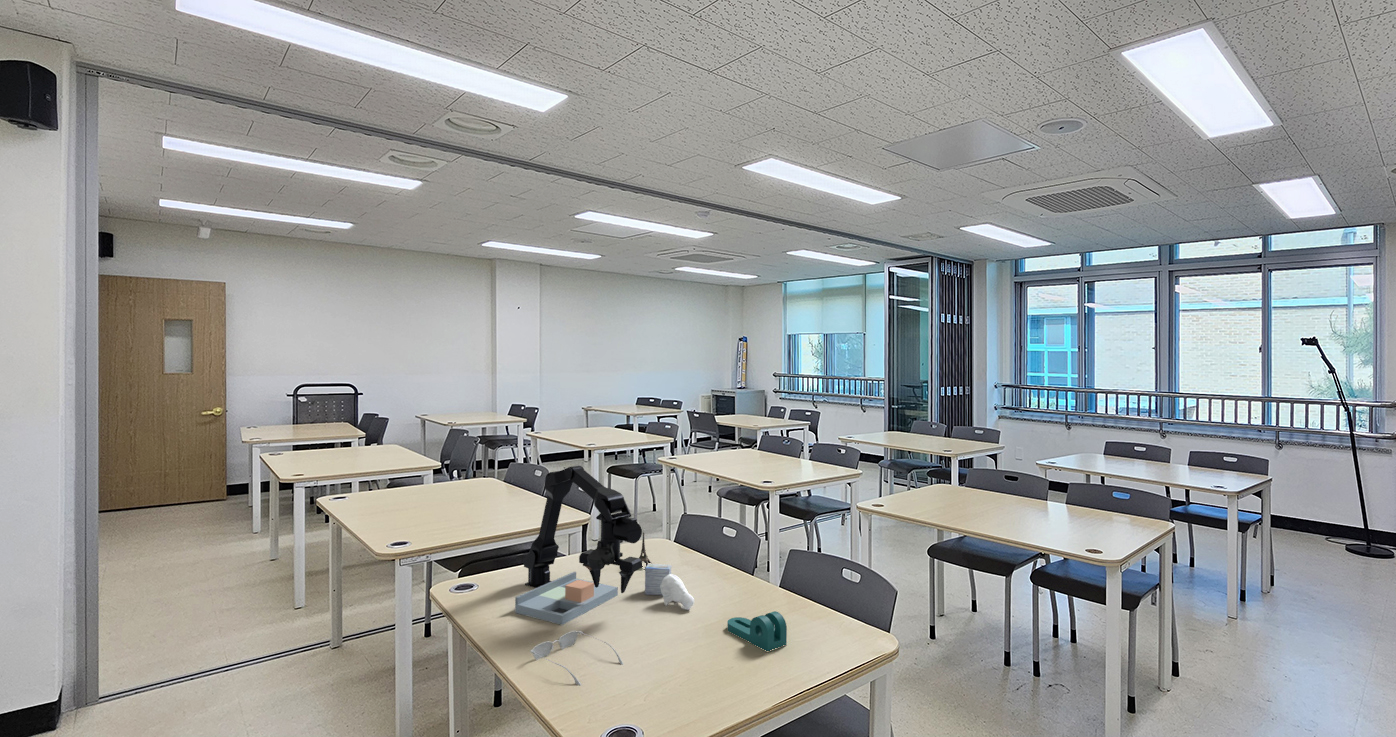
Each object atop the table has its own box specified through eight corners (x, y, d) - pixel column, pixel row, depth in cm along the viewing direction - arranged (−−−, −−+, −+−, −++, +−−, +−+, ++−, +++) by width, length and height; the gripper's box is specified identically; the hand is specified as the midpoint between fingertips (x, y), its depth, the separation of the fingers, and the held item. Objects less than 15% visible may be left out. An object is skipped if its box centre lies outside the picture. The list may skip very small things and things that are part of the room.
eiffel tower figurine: (618, 563, 231) (619, 527, 231) (641, 558, 237) (642, 523, 237) (641, 574, 219) (642, 536, 219) (665, 569, 226) (665, 532, 226)
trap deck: (515, 612, 182) (515, 597, 182) (573, 585, 206) (573, 571, 206) (562, 624, 174) (562, 608, 174) (617, 595, 198) (617, 580, 198)
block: (565, 598, 187) (565, 585, 187) (577, 592, 192) (578, 579, 192) (581, 602, 184) (581, 589, 184) (593, 596, 189) (593, 583, 189)
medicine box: (671, 591, 202) (671, 564, 202) (669, 596, 197) (669, 568, 197) (647, 590, 203) (647, 563, 203) (644, 595, 198) (644, 567, 198)
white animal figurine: (674, 570, 196) (701, 583, 187) (672, 596, 196) (699, 611, 188) (659, 574, 191) (685, 588, 183) (656, 601, 192) (683, 616, 183)
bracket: (786, 646, 163) (786, 616, 163) (767, 653, 159) (768, 622, 159) (740, 623, 178) (741, 595, 178) (722, 629, 174) (722, 600, 174)
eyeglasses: (578, 643, 164) (578, 628, 164) (627, 665, 152) (627, 648, 152) (528, 664, 152) (529, 647, 152) (577, 689, 140) (577, 671, 140)
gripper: (567, 538, 180) (566, 592, 180) (621, 548, 172) (620, 605, 172) (591, 529, 190) (590, 581, 190) (643, 538, 182) (642, 592, 182)
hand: (609, 589), depth 183 cm, fingers open, 9 cm apart
